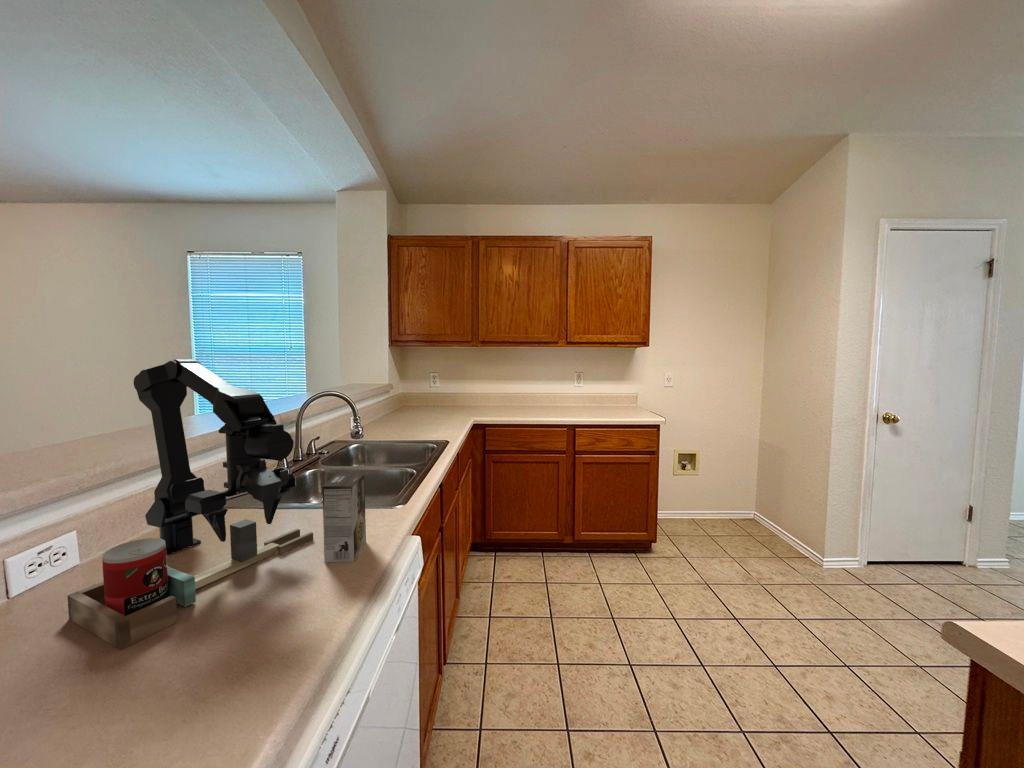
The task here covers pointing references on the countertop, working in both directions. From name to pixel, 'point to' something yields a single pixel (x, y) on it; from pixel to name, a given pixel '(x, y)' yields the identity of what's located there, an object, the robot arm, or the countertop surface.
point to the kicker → (241, 556)
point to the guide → (290, 541)
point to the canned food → (135, 575)
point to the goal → (118, 617)
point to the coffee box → (344, 517)
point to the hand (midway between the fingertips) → (247, 532)
